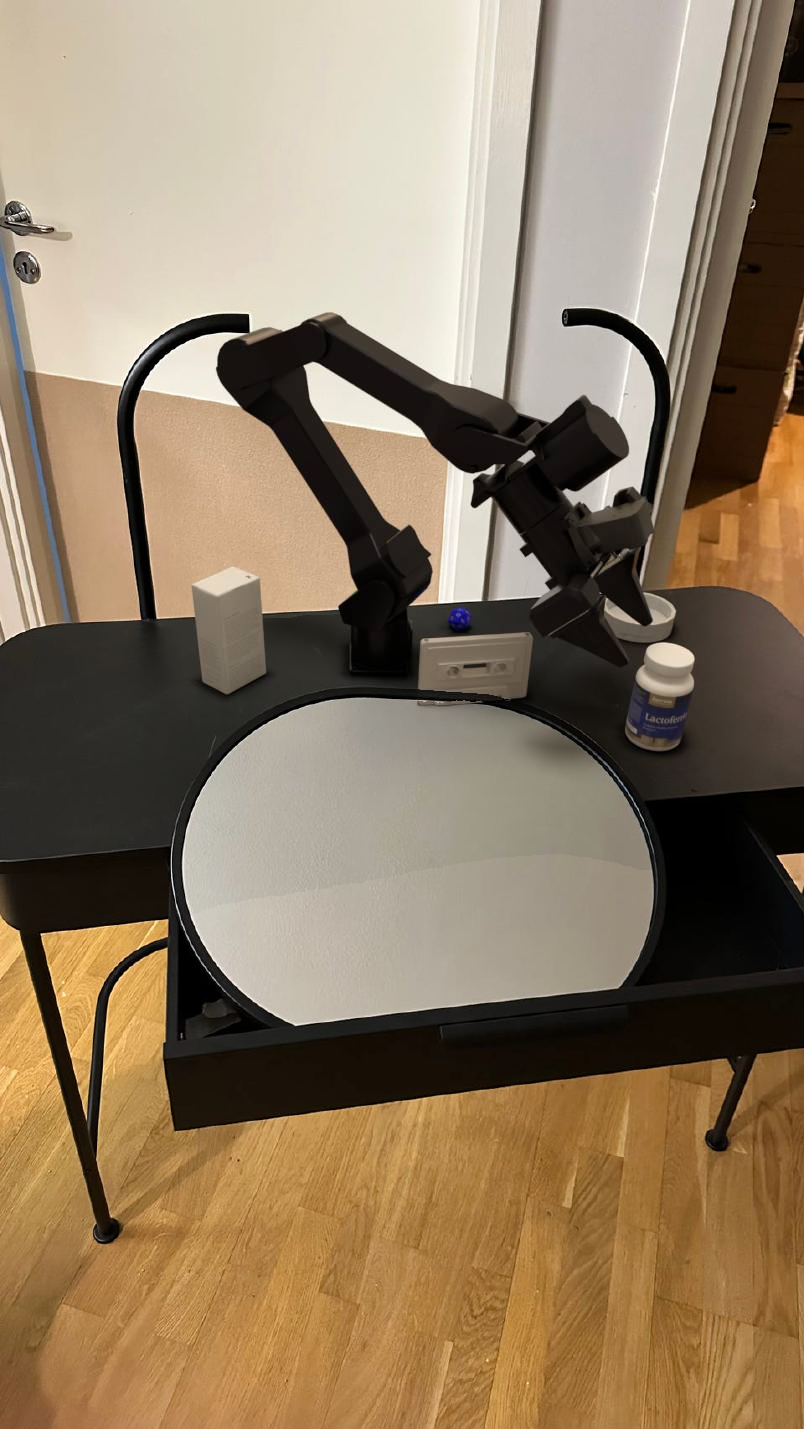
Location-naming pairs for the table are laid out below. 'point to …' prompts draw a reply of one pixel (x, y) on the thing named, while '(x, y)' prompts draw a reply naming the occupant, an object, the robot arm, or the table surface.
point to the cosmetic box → (229, 629)
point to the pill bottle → (661, 697)
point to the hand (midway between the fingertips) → (637, 643)
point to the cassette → (463, 650)
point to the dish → (636, 632)
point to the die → (459, 618)
